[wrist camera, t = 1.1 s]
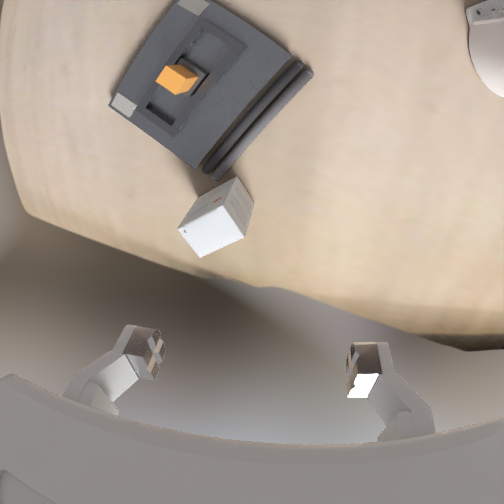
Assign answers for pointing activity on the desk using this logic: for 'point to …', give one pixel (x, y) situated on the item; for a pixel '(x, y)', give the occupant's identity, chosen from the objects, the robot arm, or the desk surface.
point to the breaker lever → (182, 77)
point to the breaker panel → (210, 90)
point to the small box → (218, 218)
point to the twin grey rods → (261, 123)
